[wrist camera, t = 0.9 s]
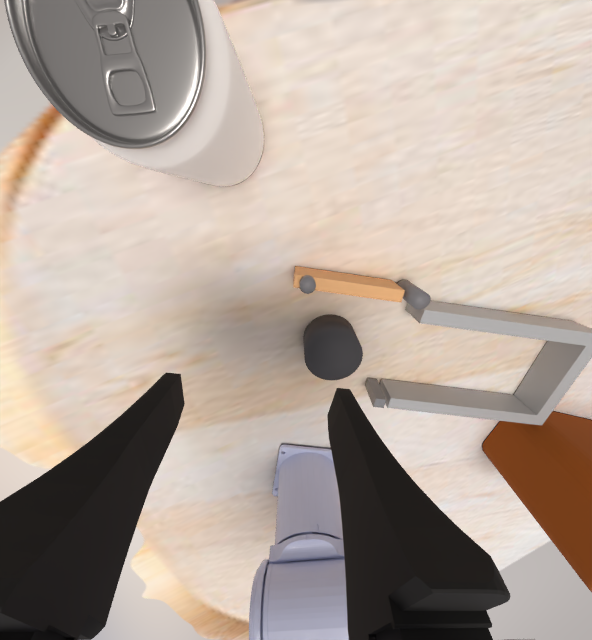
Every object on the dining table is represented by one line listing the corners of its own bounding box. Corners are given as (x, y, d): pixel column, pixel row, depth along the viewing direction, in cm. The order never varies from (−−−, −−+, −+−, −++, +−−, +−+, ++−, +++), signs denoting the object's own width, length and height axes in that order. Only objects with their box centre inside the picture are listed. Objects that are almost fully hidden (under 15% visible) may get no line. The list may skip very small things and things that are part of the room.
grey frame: (518, 404, 28) (543, 426, 26) (364, 386, 27) (373, 407, 24) (572, 320, 24) (610, 336, 21) (393, 295, 23) (407, 308, 20)
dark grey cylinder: (347, 361, 26) (354, 383, 23) (300, 355, 26) (300, 376, 23) (359, 318, 24) (369, 334, 21) (308, 310, 24) (309, 326, 21)
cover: (293, 279, 22) (293, 292, 19) (295, 263, 22) (295, 274, 18) (407, 295, 23) (427, 311, 20) (413, 281, 22) (434, 294, 19)
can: (259, 74, 17) (190, -170, 6) (269, 183, 20) (236, 155, 9) (163, 83, 17) (-73, -137, 6) (187, 190, 20) (51, 171, 9)
